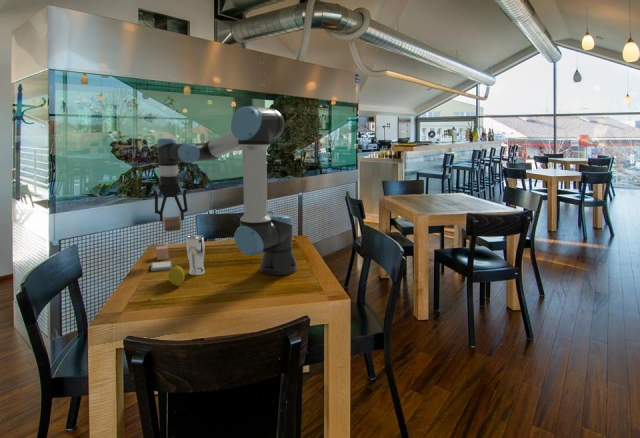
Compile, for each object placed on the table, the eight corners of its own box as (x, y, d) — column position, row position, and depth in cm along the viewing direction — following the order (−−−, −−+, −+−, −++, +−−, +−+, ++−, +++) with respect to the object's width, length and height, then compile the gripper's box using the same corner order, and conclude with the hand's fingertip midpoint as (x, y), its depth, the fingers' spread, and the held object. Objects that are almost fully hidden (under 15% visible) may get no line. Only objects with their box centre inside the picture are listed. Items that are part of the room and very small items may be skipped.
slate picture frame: (171, 269, 176) (171, 266, 176) (151, 271, 173) (150, 268, 173) (171, 263, 184) (171, 260, 184) (151, 264, 181) (151, 262, 181)
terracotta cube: (168, 259, 190) (168, 248, 189) (156, 260, 189) (156, 249, 188) (168, 256, 195) (167, 245, 194) (157, 257, 193) (156, 246, 192)
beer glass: (201, 276, 167) (199, 239, 164) (184, 275, 169) (182, 238, 166) (209, 270, 174) (207, 235, 171) (193, 269, 175) (191, 234, 172)
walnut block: (180, 230, 183) (179, 218, 182) (165, 231, 181) (164, 219, 180) (179, 227, 189) (179, 216, 188) (165, 228, 187) (164, 217, 186)
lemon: (186, 283, 159) (185, 263, 158) (182, 288, 154) (181, 267, 152) (172, 283, 159) (170, 263, 158) (167, 288, 154) (165, 267, 152)
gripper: (191, 173, 187) (194, 225, 191) (145, 175, 181) (149, 228, 185) (192, 175, 180) (195, 228, 184) (144, 176, 174) (148, 231, 178)
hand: (172, 228), depth 185 cm, fingers closed on walnut block, 6 cm apart
